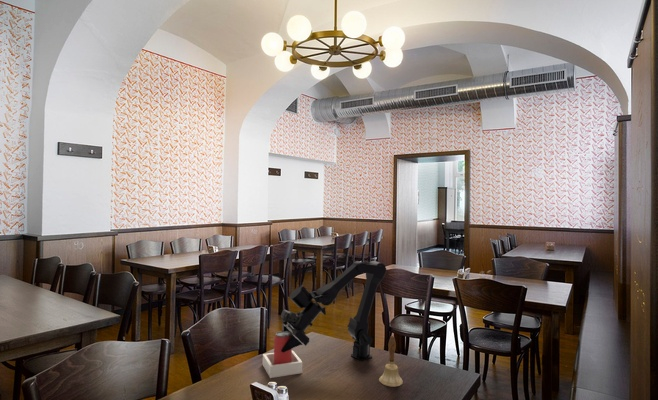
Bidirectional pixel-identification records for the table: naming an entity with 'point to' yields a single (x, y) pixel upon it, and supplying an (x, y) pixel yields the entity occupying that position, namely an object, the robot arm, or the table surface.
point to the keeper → (282, 366)
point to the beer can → (278, 345)
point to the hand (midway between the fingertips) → (279, 348)
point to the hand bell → (391, 368)
